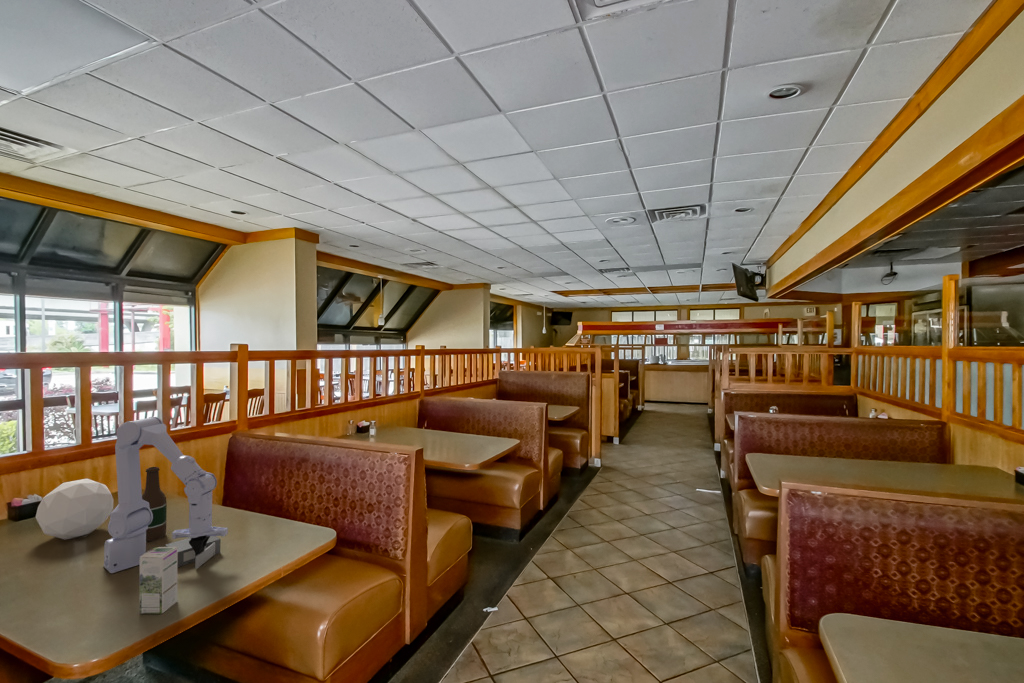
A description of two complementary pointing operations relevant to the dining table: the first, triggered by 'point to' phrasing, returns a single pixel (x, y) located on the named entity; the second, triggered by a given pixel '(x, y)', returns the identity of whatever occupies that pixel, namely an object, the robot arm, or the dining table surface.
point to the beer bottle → (155, 505)
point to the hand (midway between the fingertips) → (199, 560)
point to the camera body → (191, 549)
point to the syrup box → (158, 580)
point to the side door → (205, 555)
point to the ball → (74, 508)
